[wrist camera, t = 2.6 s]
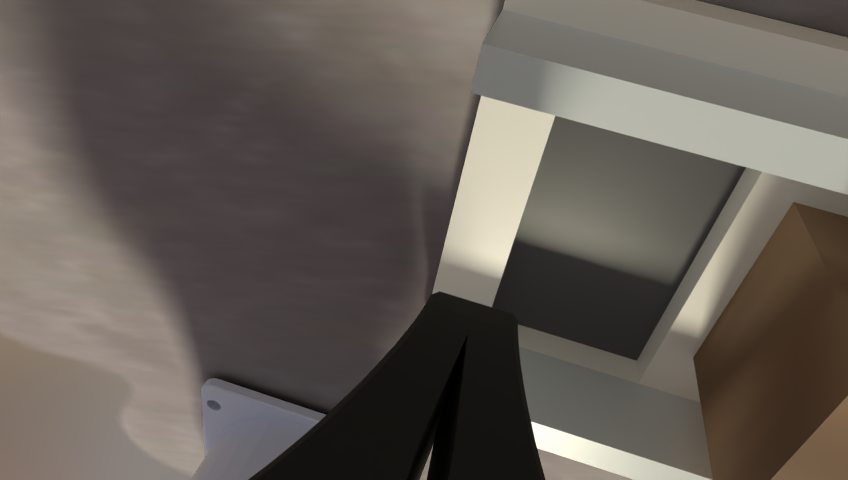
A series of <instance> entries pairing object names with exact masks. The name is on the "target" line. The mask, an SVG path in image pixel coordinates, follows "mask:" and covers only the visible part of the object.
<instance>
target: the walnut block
mask: <svg viewBox="0 0 848 480" xmlns="http://www.w3.org/2000/svg"><path fill="white" fill-rule="evenodd" d="M693 360H694V366H695V372H696V378H697V385H698V391H699V397H700V403H701V409H702V415H703V421H704V427H705V433H706V440H707V446H708V452H709V458H710V464H711V470H712V476H713V480H848V217H846V216H843V215H839V214H835V213H832V212H828V211H824V210H821V209H817V208H813V207H810V206H806V205H802V204H799V203H795V202H793V204H792V205H791V207H790V208H789V210H788V211H787V213H786V214H785V216H784V218H783V219H782V221H781V222H780V224H779V225H778V227H777V228H776V230H775V231H774V233H773V235H772V236H771V238H770V239H769V241H768V242H767V244H766V245H765V247H764V249H763V250H762V252H761V253H760V255H759V256H758V258H757V259H756V261H755V263H754V264H753V266H752V267H751V269H750V270H749V272H748V273H747V275H746V276H745V278H744V280H743V281H742V283H741V284H740V286H739V287H738V289H737V290H736V292H735V294H734V295H733V297H732V298H731V300H730V301H729V303H728V304H727V306H726V307H725V309H724V311H723V312H722V314H721V315H720V317H719V318H718V320H717V321H716V323H715V325H714V326H713V328H712V329H711V331H710V332H709V334H708V335H707V337H706V338H705V340H704V342H703V343H702V345H701V346H700V348H699V349H698V351H697V352H696V354H695V356H694V357H693Z"/></svg>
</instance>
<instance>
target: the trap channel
mask: <svg viewBox="0 0 848 480" xmlns="http://www.w3.org/2000/svg"><path fill="white" fill-rule="evenodd" d="M471 93H473V94H477V95H480V96H481V99H480V103H479V107H478V111H477V115H476V119H475V123H474V127H473V131H472V135H471V139H470V143H469V147H468V151H467V155H466V159H465V163H464V167H463V171H462V175H461V179H460V183H459V187H458V191H457V195H456V199H455V203H454V207H453V212H452V216H451V220H450V224H449V228H448V232H447V236H446V240H445V244H444V248H443V252H442V256H441V260H440V264H439V268H438V272H437V276H436V280H435V284H434V288H433V292H432V294H434V293H437V292H439V291H440V292H443V293H447V294H450V295H453V296H457V297H460V298H463V299H466V300H470V301H473V302H476V303H479V304H483V305H486V306H489V307H492V308H496V309H499V310H502V311H506V312H509V313H512V314H514V316H515V317H516V319H517V321H518V342H519V353H520V362H521V369H522V376H523V383H524V389H525V394H526V400H527V405H528V410H529V414H530V419H531V424H532V428H533V433H534V438H535V442H536V446H537V448H539V449H542V450H545V451H548V452H551V453H554V454H557V455H560V456H563V457H566V458H569V459H573V460H576V461H579V462H582V463H585V464H588V465H591V466H594V467H597V468H600V469H603V470H606V471H609V472H612V473H615V474H619V475H622V476H625V477H628V478H631V479H634V480H713V476H712V470H711V464H710V458H709V452H708V446H707V440H706V433H705V427H704V421H703V415H702V409H701V403H700V397H699V391H698V385H697V378H696V372H695V366H694V360H693V357H694V356H695V354H696V352H697V351H698V349H699V348H700V346H701V345H702V343H703V342H704V340H705V338H706V337H707V335H708V334H709V332H710V331H711V329H712V328H713V326H714V325H715V323H716V321H717V320H718V318H719V317H720V315H721V314H722V312H723V311H724V309H725V307H726V306H727V304H728V303H729V301H730V300H731V298H732V297H733V295H734V294H735V292H736V290H737V289H738V287H739V286H740V284H741V283H742V281H743V280H744V278H745V276H746V275H747V273H748V272H749V270H750V269H751V267H752V266H753V264H754V263H755V261H756V259H757V258H758V256H759V255H760V253H761V252H762V250H763V249H764V247H765V245H766V244H767V242H768V241H769V239H770V238H771V236H772V235H773V233H774V231H775V230H776V228H777V227H778V225H779V224H780V222H781V221H782V219H783V218H784V216H785V214H786V213H787V211H788V210H789V208H790V207H791V205H792V204H793V202H795V203H799V204H802V205H806V206H810V207H813V208H817V209H821V210H824V211H828V212H832V213H835V214H839V215H843V216H846V217H848V37H844V36H840V35H836V34H832V33H827V32H823V31H819V30H815V29H811V28H807V27H803V26H799V25H795V24H791V23H787V22H783V21H779V20H775V19H770V18H766V17H762V16H758V15H754V14H750V13H746V12H742V11H738V10H734V9H730V8H726V7H722V6H718V5H713V4H709V3H705V2H701V1H697V0H505V2H504V6H503V10H502V11H501V13H500V15H499V16H498V18H497V20H496V21H495V23H494V25H493V27H492V28H491V30H490V32H489V33H488V35H487V37H486V38H485V40H484V42H483V44H482V48H481V52H480V56H479V60H478V65H477V69H476V73H475V77H474V81H473V86H472V90H471Z"/></svg>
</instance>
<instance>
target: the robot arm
mask: <svg viewBox="0 0 848 480" xmlns="http://www.w3.org/2000/svg"><path fill="white" fill-rule="evenodd" d="M201 402H202V417H203V433H204V448H205V459H204V460H203V462H202V463H201V465H200V466H199V468H198V469H197V471H196V473H195V474H194V476H193V477H192V479H191V480H419V479H420V477H421V474H422V471H423V469H424V466H425V464H426V461H427V459H428V456H429V454H430V451H431V449H432V446H433V450H432V455H431V460H430V466H429V471H428V476H427V480H545V477H544V473H543V469H542V466H541V462H540V458H539V454H538V450H537V446H536V442H535V438H534V433H533V428H532V424H531V419H530V414H529V410H528V405H527V400H526V394H525V389H524V383H523V376H522V369H521V362H520V353H519V342H518V321H517V319H516V317H515V316H514V314H512V313H509V312H506V311H502V310H499V309H496V308H492V307H489V306H486V305H483V304H479V303H476V302H473V301H470V300H466V299H463V298H460V297H457V296H453V295H450V294H447V293H443V292H440V291H439V292H437V293H434V294H432V295H431V296H430V298H429V300H428V302H427V303H426V305H425V306H424V308H423V309H422V311H421V312H420V314H419V315H418V317H417V318H416V319H415V321H414V322H413V323H412V325H411V326H410V327H409V329H408V330H407V331H406V332H405V333H404V335H403V336H402V337H401V338H400V340H399V341H398V342H397V343H396V344H395V346H394V347H393V348H392V349H391V350H390V351H389V352H388V353H387V354H386V355H385V357H384V358H383V359H382V360H381V361H380V362H379V363H378V364H377V365H376V366H375V368H374V369H373V370H372V371H371V372H370V373H369V374H368V375H367V376H366V377H365V378H364V379H363V380H362V381H361V382H360V383H359V384H358V385H357V386H356V387H355V388H354V389H353V390H352V391H351V392H350V393H349V394H348V395H347V396H346V397H345V398H344V399H343V400H342V401H341V402H340V403H338V404H337V405H336V406H335V407H334V408H333V409H332V410H331V411H330V412H329V413H328V414H327V415H325V414H322V413H319V412H316V411H313V410H310V409H307V408H304V407H301V406H298V405H295V404H292V403H289V402H286V401H283V400H280V399H277V398H274V397H271V396H268V395H265V394H262V393H259V392H256V391H253V390H250V389H247V388H244V387H241V386H238V385H235V384H232V383H229V382H226V381H223V380H220V379H216V378H212V379H208V380H207V381H206V382H205V383H204V385H203V386H202V388H201ZM433 444H434V445H433Z"/></svg>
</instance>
